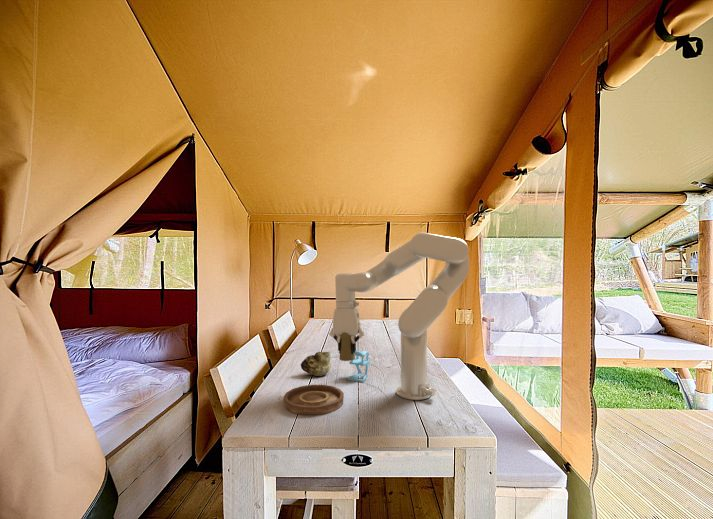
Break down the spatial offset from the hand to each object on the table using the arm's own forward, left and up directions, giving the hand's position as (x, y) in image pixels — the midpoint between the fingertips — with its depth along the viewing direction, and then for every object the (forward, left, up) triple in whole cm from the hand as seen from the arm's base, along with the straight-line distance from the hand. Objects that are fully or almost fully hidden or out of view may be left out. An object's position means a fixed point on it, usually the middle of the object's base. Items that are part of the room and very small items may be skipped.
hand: (347, 352), depth 128 cm
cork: (0, 0, -3) cm, 3 cm away
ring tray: (-2, +17, -13) cm, 22 cm away
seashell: (+21, -2, -14) cm, 25 cm away
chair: (+5, -12, -14) cm, 19 cm away
